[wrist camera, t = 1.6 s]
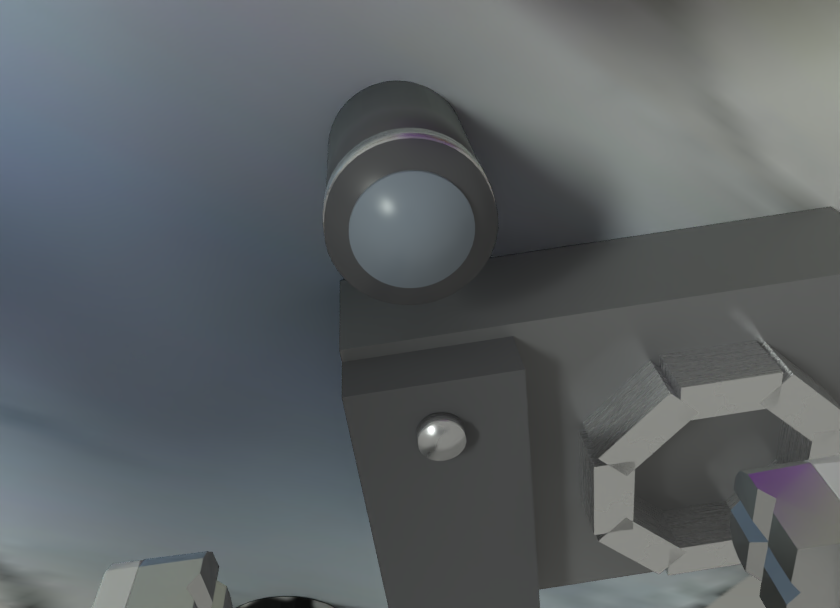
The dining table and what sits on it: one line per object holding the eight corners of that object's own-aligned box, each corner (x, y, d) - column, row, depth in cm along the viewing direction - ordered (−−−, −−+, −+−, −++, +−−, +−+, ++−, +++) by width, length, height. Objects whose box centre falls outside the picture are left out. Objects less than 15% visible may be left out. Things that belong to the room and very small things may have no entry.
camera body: (389, 525, 37) (399, 666, 31) (340, 280, 30) (339, 396, 23) (786, 463, 37) (879, 590, 31) (830, 206, 30) (964, 301, 24)
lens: (340, 223, 29) (339, 321, 23) (314, 90, 26) (305, 160, 20) (471, 203, 29) (506, 296, 23) (458, 69, 26) (494, 132, 20)
